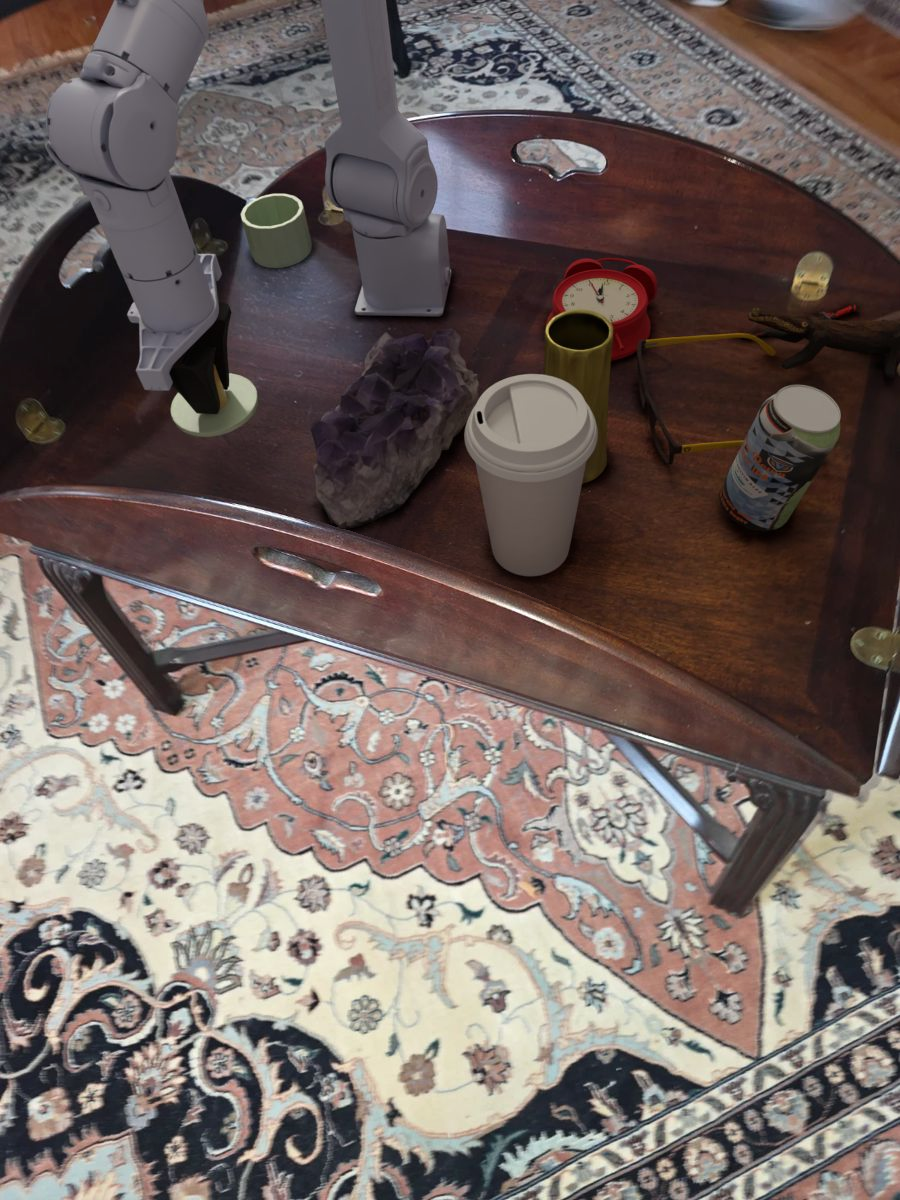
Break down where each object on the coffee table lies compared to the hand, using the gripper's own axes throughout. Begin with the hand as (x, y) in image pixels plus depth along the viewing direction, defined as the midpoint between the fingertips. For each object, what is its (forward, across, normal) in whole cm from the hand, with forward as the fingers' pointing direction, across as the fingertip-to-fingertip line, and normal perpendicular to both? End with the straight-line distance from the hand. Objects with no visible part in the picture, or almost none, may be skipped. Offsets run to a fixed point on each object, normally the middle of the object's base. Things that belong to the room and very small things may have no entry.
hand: (212, 398), depth 76 cm
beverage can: (+8, +3, +47) cm, 48 cm away
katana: (+8, -19, +52) cm, 56 cm away
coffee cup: (+8, +8, +28) cm, 30 cm away
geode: (+8, -2, +15) cm, 17 cm away
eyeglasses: (+8, -8, +44) cm, 46 cm away
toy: (+8, -16, +56) cm, 59 cm away
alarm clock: (+8, -22, +33) cm, 40 cm away
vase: (+8, -2, +31) cm, 32 cm away
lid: (+1, 0, 0) cm, 1 cm away
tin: (+8, -34, -4) cm, 35 cm away
